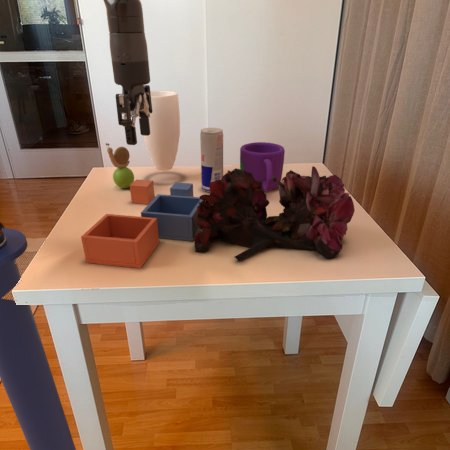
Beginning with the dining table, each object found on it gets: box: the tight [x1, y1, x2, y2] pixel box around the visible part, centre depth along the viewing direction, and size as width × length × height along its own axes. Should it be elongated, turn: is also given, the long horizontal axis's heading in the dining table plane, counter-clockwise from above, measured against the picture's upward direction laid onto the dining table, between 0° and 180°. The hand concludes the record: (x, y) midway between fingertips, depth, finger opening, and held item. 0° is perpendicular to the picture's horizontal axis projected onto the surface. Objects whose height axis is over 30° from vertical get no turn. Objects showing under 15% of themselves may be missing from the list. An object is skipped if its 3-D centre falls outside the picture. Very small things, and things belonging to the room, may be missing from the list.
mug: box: [239, 141, 286, 193], centre depth 107 cm, size 17×11×10 cm, turn 6°
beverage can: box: [199, 127, 224, 193], centre depth 106 cm, size 6×6×15 cm
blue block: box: [169, 181, 194, 197], centre depth 101 cm, size 4×4×4 cm
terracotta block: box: [129, 179, 156, 205], centre depth 102 cm, size 4×4×4 cm
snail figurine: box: [105, 142, 135, 189], centre depth 107 cm, size 5×6×12 cm
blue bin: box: [140, 193, 203, 242], centre depth 89 cm, size 11×11×5 cm
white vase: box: [142, 90, 181, 171], centre depth 111 cm, size 10×10×22 cm
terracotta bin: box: [80, 213, 160, 269], centre depth 80 cm, size 11×11×5 cm
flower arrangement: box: [193, 165, 356, 262], centre depth 82 cm, size 31×20×15 cm, turn 91°
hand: (139, 139), depth 96 cm, fingers open, 8 cm apart
